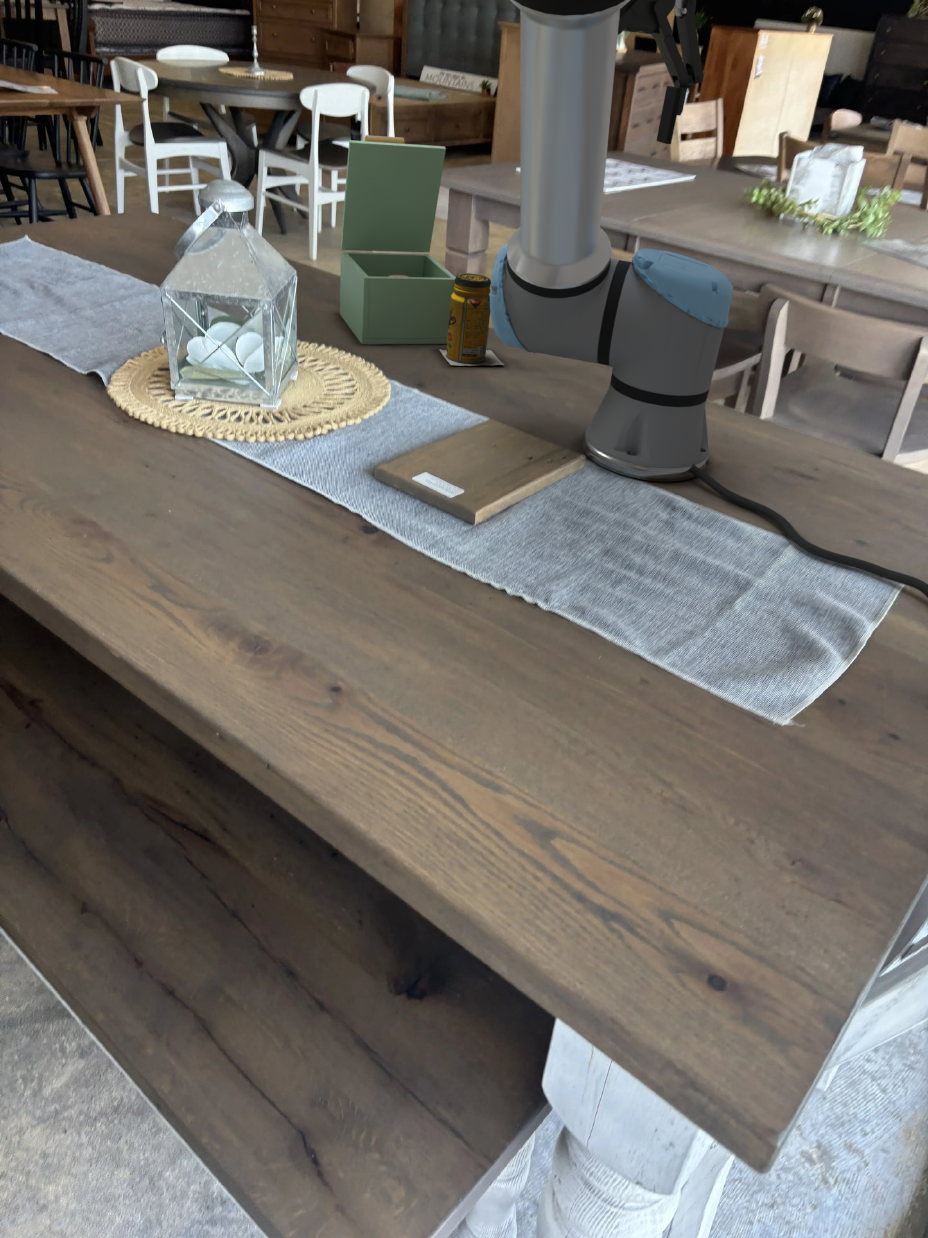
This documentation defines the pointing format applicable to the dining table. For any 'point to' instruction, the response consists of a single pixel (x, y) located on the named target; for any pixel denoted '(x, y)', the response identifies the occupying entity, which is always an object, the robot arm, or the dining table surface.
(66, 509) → the dining table surface
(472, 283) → the condiment
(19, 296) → the dining table surface
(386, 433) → the dining table surface
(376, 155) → the lid
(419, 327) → the chest
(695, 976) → the dining table surface
